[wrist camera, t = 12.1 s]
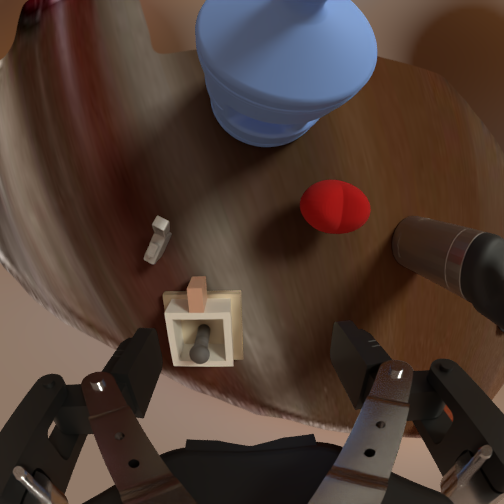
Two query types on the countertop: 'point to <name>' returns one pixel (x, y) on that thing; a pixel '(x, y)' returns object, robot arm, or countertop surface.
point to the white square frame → (199, 309)
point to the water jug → (281, 63)
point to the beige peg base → (210, 326)
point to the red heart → (334, 207)
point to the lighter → (158, 240)
